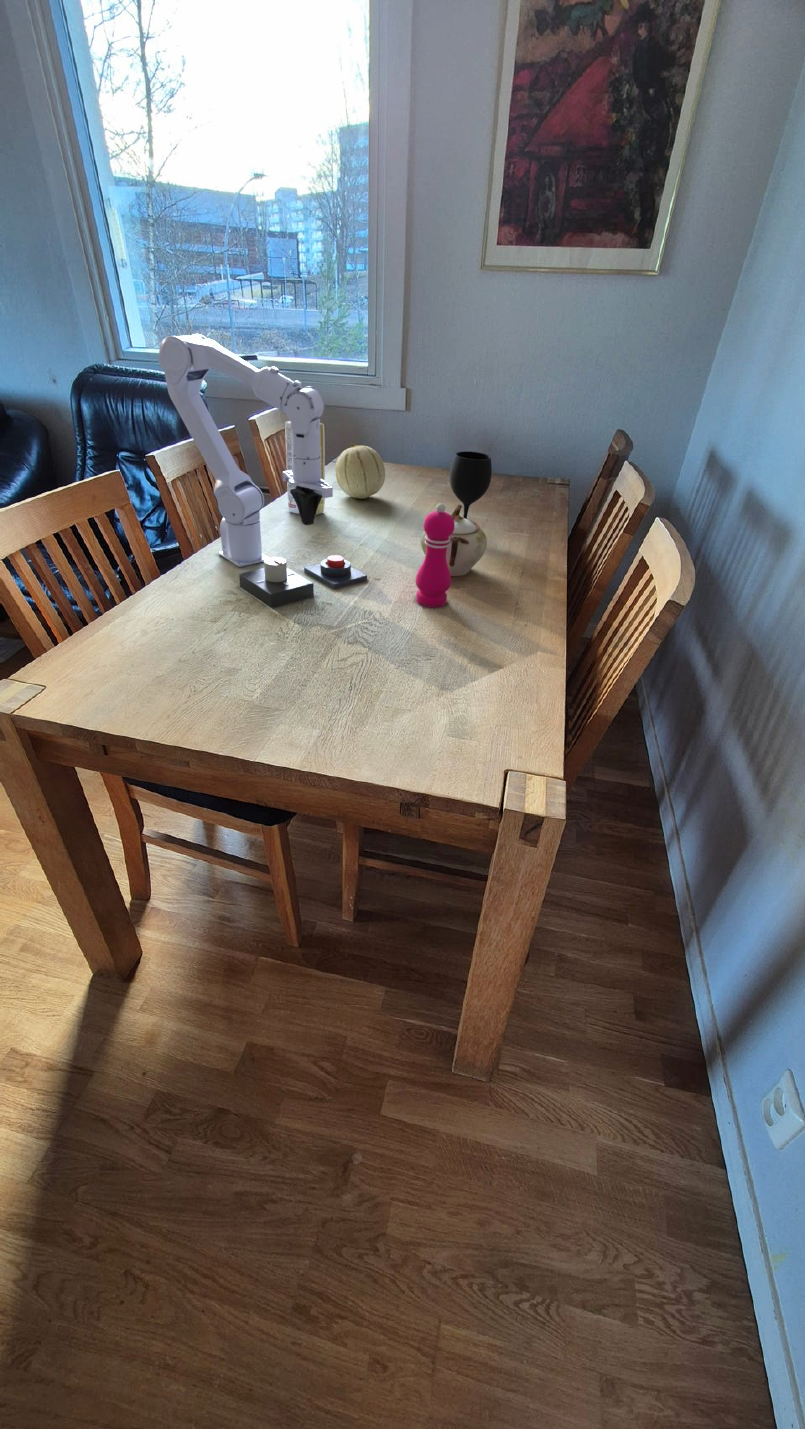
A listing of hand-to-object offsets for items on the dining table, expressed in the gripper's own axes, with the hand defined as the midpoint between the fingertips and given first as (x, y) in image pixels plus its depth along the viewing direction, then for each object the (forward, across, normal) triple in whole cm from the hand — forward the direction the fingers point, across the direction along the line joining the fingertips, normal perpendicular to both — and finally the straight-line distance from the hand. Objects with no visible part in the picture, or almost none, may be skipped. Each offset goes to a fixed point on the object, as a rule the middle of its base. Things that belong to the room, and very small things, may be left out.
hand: (308, 523), depth 131 cm
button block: (+10, +6, +3) cm, 12 cm away
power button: (+8, +6, +3) cm, 10 cm away
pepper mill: (+11, +27, +11) cm, 31 cm away
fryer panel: (+10, +6, -12) cm, 17 cm away
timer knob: (+7, +6, -12) cm, 15 cm away
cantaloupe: (+10, -37, +46) cm, 60 cm away
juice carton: (+10, -34, +24) cm, 42 cm away
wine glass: (+11, +3, +48) cm, 49 cm away
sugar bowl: (+11, +18, +27) cm, 34 cm away
